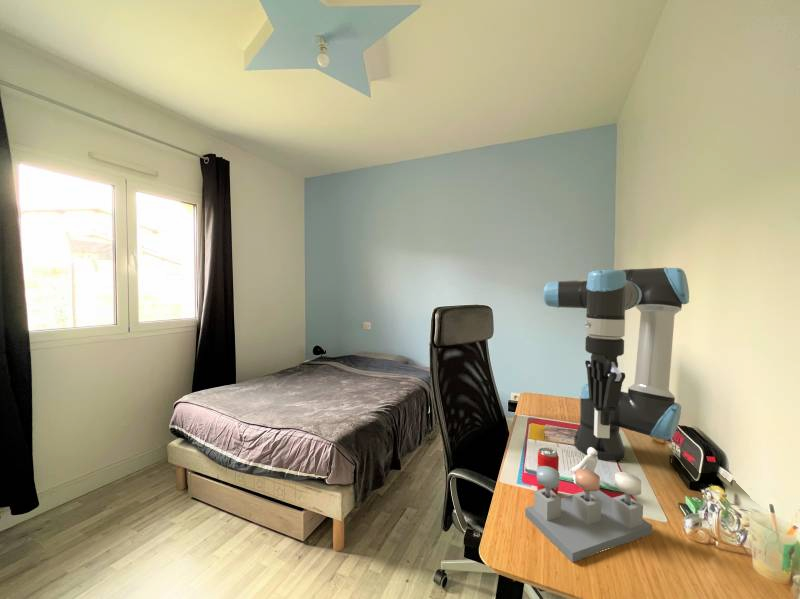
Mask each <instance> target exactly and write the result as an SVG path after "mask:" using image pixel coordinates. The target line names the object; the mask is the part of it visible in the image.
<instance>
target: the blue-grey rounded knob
mask: <svg viewBox="0 0 800 599" xmlns="http://www.w3.org/2000/svg"><path fill="white" fill-rule="evenodd" d="M537 481H538V482H539V483H540V484H541V485H543V486H545V497H546V498H550V488H556V487H558V488H559V486H560V472H559V470H558V471H557V470H555V469H554V468H551V467H548V466H539V467H538V466H537V468H536V482H537Z"/></svg>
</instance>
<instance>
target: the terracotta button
mask: <svg viewBox="0 0 800 599" xmlns="http://www.w3.org/2000/svg"><path fill="white" fill-rule="evenodd" d="M574 473H575V474H574V475H575V483H576V484H577V485H578V486H579V487H580V489H581V488H582V490H583V491H584V500H585V501H587V502H589V501H590V491H598V490H600V486H601V485H600V484H601V483H600V481H601V479H600V476H599V475H598V474H597V473H596V472H595V471H594V472H592V471H590V470H587V469H577V470H576V471H575V472H574ZM575 483H574V484H575ZM576 484H575V485H576ZM577 485H576V486H577ZM578 486H577V487H578ZM579 487H578V488H579Z"/></svg>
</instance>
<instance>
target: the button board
mask: <svg viewBox="0 0 800 599" xmlns="http://www.w3.org/2000/svg"><path fill="white" fill-rule="evenodd" d="M533 491H534V496H533V497H534V501H533V505H532V506H531V505H530V506H527V507H525V509H524V510H525V513H524V514H525V515H524V516H525V517H526V518H527V519H528V520H529V522H531V523H532V524H533V525H534V526H535V527H536V528H537V529H538V530H539V531H540V532H541V533H542V534H543V535H544V536H545V537H546V538H547V539H548V540H549V541H550V542H551V543H552V544H553V545H554V546H555V547H556V548H557V549H558V550H559V551H560V552H561V553H562V554H563V555H564V556H565V557H566V558H567V559H568V560H569V561H570V562H571V563H575V562H578V561H580V560H583V558H584V559H586V558H589V557H591V556H590V555H592V556H594V555H593V554H595V555H596V553H597V552H600V551H602V550H605V549H608V548H611V549H613V548H612V547H614V548H616V547H615V546H617V547H619V546H622V545H625V544H627V543H631V542H632V541H636V540H638V539H641V538H644V537H647V536H651V535H652V534H653V525H652V524H651V523H649V522H648V521H647V520H645V519H644V505H643V504H641V503H639V502H638V501H636V500H635V499H633V498H632V497H631V505H630V506H628V505H627V504H625V503H624V494H621V495H618V496H615V497H611V496H609V495H608V494H606V493H604V492H603V491H602V490H600V489H599V490H598V491H590V501H589V502H587V501H585V500H584V490H583V491H580V492H577V493H573V494H572V495H568V496H564V497H561V496H560V495H559V494H558V495H557V494H555V493H554V492H553V491H552V490H550V498H546V497H545V488H544V489H540V490H533ZM618 545H619V546H618ZM608 550H609V549H608ZM600 553H601V552H600ZM597 554H598V553H597ZM588 556H589V557H588ZM585 557H586V558H585Z"/></svg>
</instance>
